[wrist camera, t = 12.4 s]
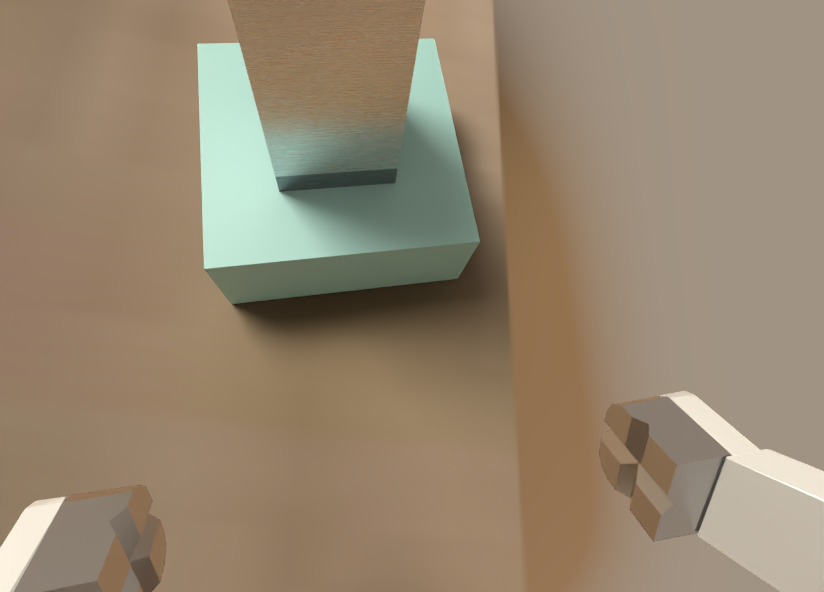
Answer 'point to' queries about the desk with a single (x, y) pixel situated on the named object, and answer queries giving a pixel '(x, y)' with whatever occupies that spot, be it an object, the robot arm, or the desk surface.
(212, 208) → the stand
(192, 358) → the desk surface
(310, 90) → the block
